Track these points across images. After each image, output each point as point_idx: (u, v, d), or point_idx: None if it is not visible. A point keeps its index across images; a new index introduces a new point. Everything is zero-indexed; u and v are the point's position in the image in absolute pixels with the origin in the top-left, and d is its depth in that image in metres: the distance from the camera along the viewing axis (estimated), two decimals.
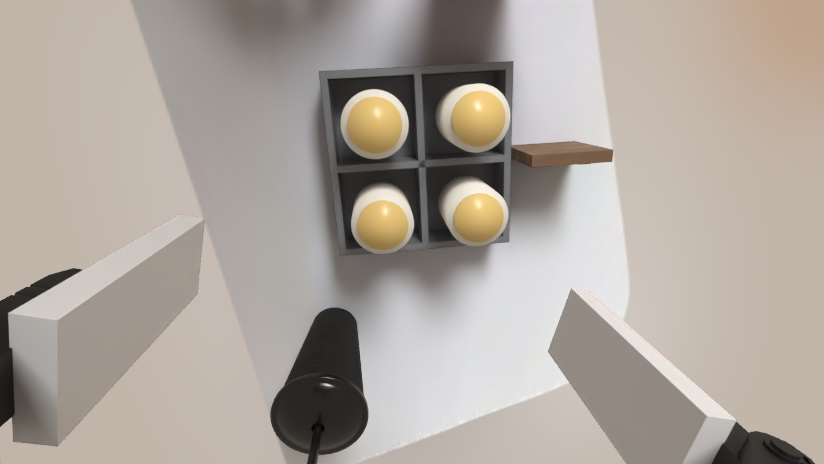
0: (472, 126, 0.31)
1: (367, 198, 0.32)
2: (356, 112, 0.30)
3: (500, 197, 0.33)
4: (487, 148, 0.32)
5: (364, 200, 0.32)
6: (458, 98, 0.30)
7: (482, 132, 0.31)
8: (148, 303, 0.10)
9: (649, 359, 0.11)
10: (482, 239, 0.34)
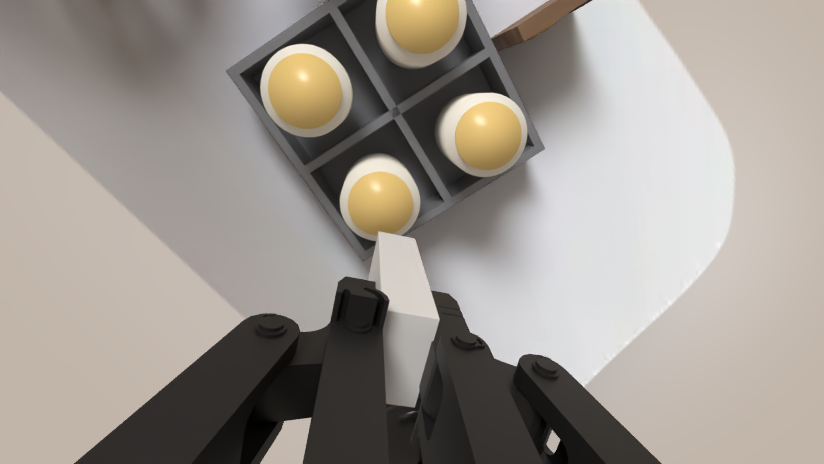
0: (419, 27, 0.23)
1: (346, 182, 0.25)
2: (275, 88, 0.23)
3: (501, 96, 0.24)
4: (453, 45, 0.23)
5: (344, 186, 0.25)
6: (384, 2, 0.22)
7: (436, 28, 0.23)
8: None
9: (407, 280, 0.12)
10: (506, 159, 0.25)
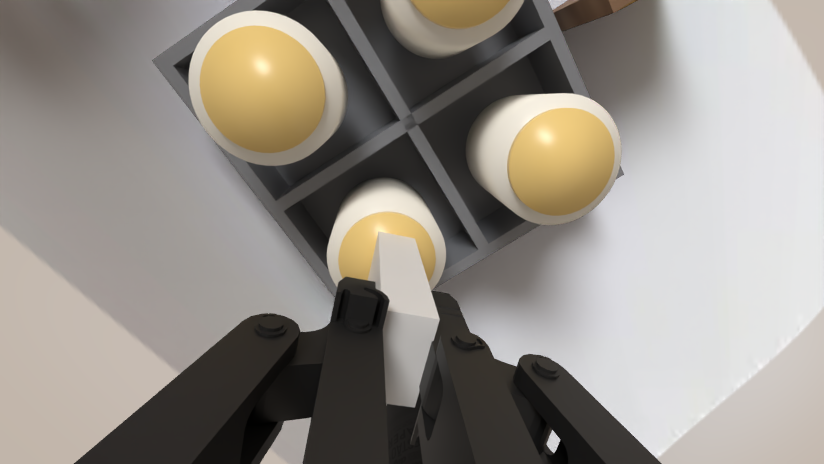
0: None
1: (336, 227, 0.17)
2: (212, 85, 0.14)
3: (584, 100, 0.15)
4: (511, 14, 0.14)
5: (333, 233, 0.17)
6: None
7: None
8: None
9: (407, 280, 0.12)
10: (588, 199, 0.16)
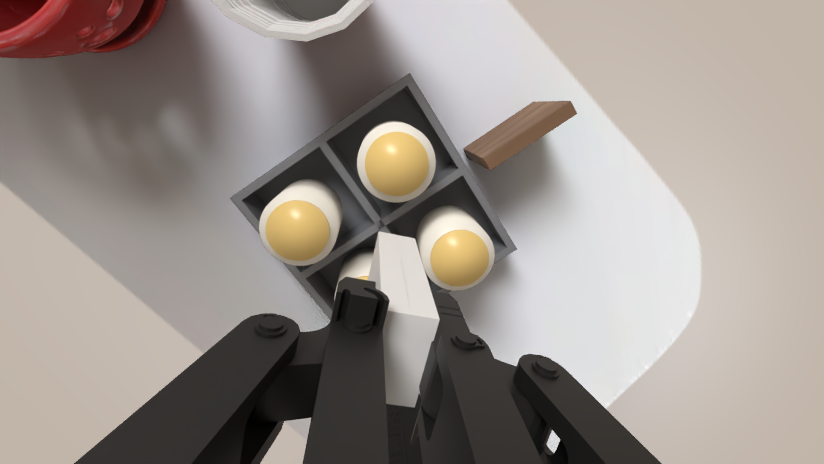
0: (394, 175, 0.26)
1: None
2: (272, 229, 0.26)
3: (470, 225, 0.28)
4: (425, 186, 0.27)
5: None
6: (364, 156, 0.26)
7: (409, 175, 0.26)
8: None
9: (407, 280, 0.12)
10: (476, 277, 0.29)
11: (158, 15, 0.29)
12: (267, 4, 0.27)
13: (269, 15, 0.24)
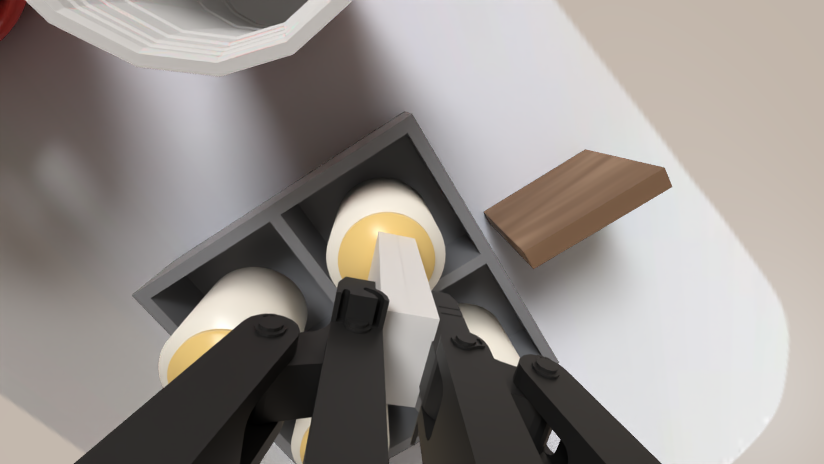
0: None
1: (298, 426, 0.21)
2: None
3: None
4: None
5: (296, 430, 0.21)
6: (337, 246, 0.17)
7: None
8: None
9: (407, 280, 0.12)
10: None
11: (16, 11, 0.19)
12: (178, 0, 0.16)
13: (163, 21, 0.13)
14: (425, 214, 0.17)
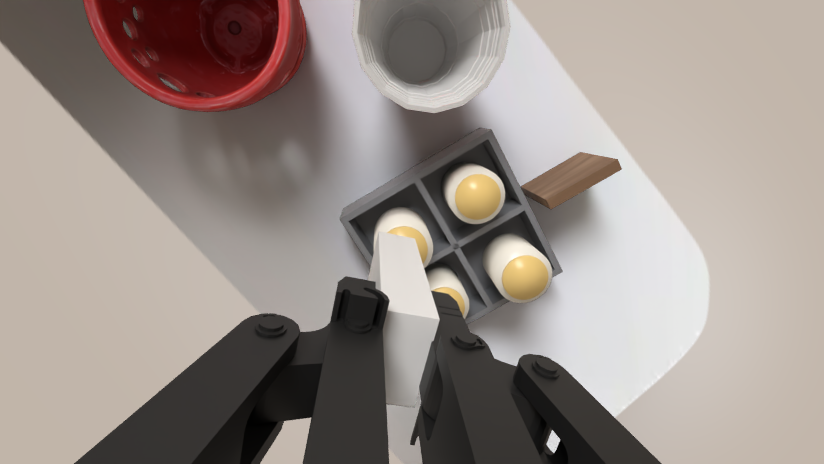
0: (475, 205, 0.36)
1: None
2: None
3: (535, 252, 0.36)
4: (496, 213, 0.37)
5: None
6: (454, 190, 0.36)
7: (486, 205, 0.36)
8: None
9: (407, 280, 0.12)
10: (537, 293, 0.36)
11: (295, 72, 0.37)
12: (390, 74, 0.35)
13: (401, 88, 0.32)
14: (496, 176, 0.36)
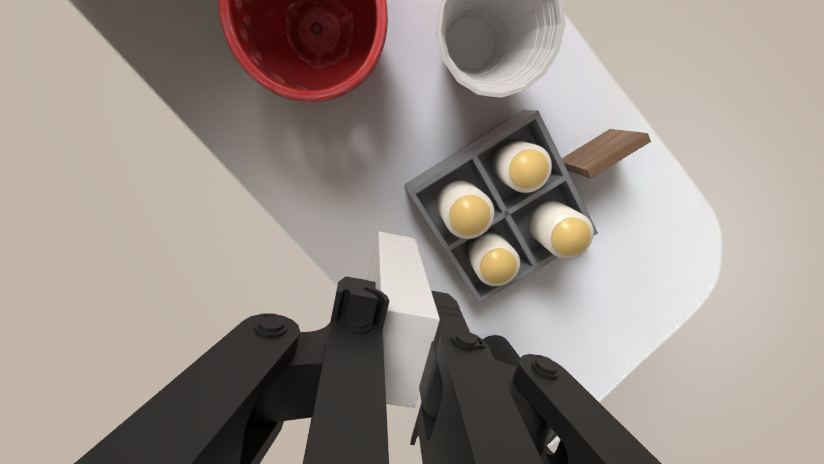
0: (527, 176, 0.42)
1: (480, 254, 0.45)
2: (454, 214, 0.40)
3: (579, 214, 0.42)
4: (543, 183, 0.43)
5: (478, 256, 0.45)
6: (509, 163, 0.42)
7: (536, 176, 0.43)
8: None
9: (407, 280, 0.12)
10: (581, 249, 0.43)
11: None
12: None
13: (469, 77, 0.38)
14: (545, 150, 0.42)
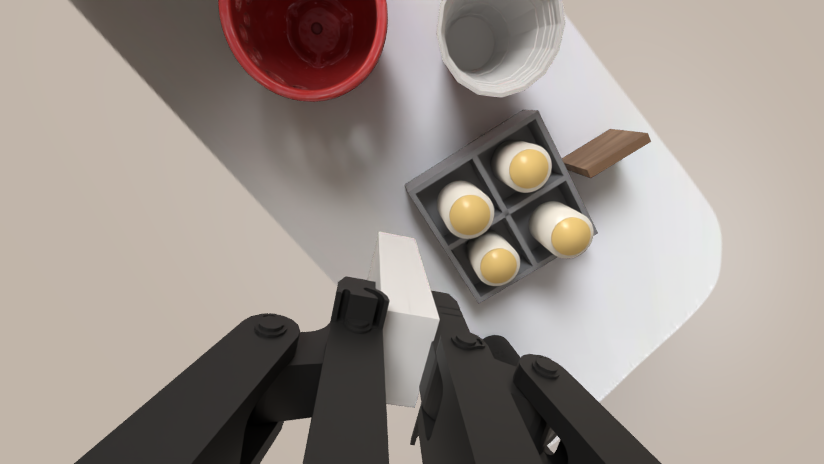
0: (527, 176, 0.42)
1: (480, 254, 0.45)
2: (454, 214, 0.40)
3: (579, 214, 0.42)
4: (543, 182, 0.43)
5: (479, 256, 0.45)
6: (509, 163, 0.42)
7: (536, 176, 0.43)
8: None
9: (407, 280, 0.12)
10: (581, 249, 0.43)
11: None
12: None
13: (469, 77, 0.38)
14: (545, 150, 0.42)
